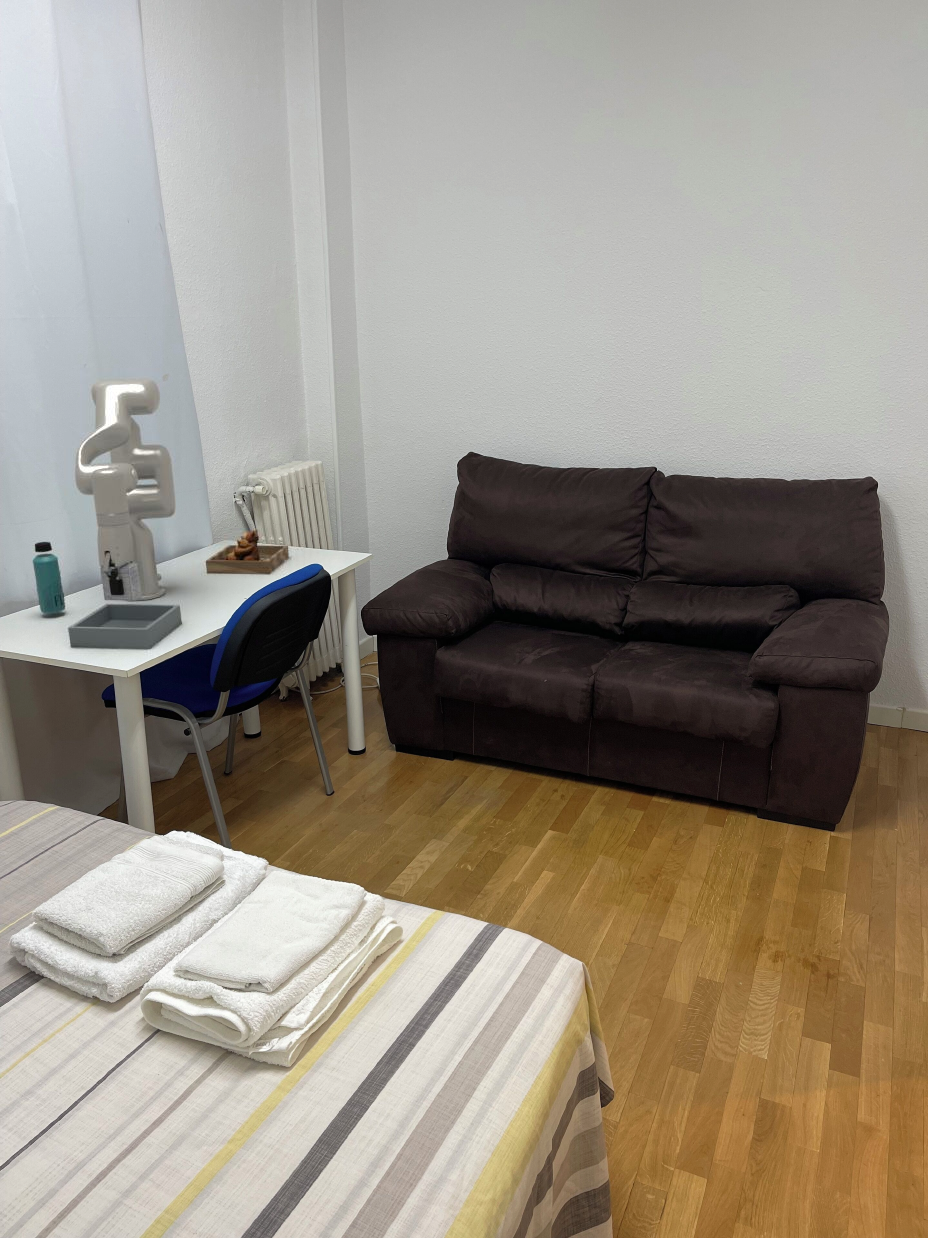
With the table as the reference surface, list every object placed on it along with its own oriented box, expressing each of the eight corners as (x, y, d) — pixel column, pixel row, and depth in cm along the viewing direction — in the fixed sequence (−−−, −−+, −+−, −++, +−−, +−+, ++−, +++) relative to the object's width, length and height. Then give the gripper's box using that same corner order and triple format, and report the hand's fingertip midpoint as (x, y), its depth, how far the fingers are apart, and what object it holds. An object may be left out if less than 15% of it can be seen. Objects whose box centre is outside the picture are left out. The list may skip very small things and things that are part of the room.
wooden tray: (230, 556, 319) (229, 545, 318) (288, 557, 317) (288, 545, 316) (206, 573, 299) (205, 560, 298) (269, 574, 297) (268, 561, 296)
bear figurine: (229, 562, 313) (226, 525, 309) (274, 563, 311) (271, 526, 308) (214, 573, 300) (211, 535, 296) (261, 574, 299) (258, 535, 295)
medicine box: (142, 596, 241) (138, 563, 239) (133, 601, 237) (129, 567, 234) (113, 595, 242) (109, 562, 240) (104, 600, 238) (99, 566, 236)
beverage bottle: (57, 619, 257) (46, 545, 250) (35, 618, 258) (23, 545, 252) (71, 612, 263) (61, 540, 257) (50, 610, 264) (39, 539, 258)
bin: (108, 622, 253) (106, 603, 252) (181, 623, 251) (179, 605, 250) (70, 647, 235) (67, 627, 233) (149, 649, 232) (147, 629, 231)
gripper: (114, 512, 242) (123, 583, 248) (81, 526, 226) (91, 601, 232) (143, 512, 241) (151, 583, 247) (111, 526, 225) (121, 601, 231)
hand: (122, 591), depth 239 cm, fingers closed on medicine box, 4 cm apart
